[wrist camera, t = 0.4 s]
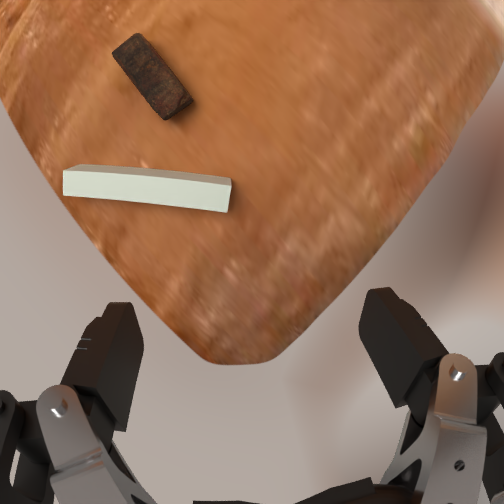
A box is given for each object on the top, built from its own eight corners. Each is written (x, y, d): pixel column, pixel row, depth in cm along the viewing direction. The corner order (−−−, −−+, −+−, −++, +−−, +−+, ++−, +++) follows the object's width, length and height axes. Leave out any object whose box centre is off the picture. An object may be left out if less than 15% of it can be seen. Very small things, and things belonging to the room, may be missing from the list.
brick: (122, 60, 26) (108, 53, 21) (148, 40, 25) (137, 30, 21) (168, 121, 30) (160, 121, 26) (195, 101, 29) (191, 98, 25)
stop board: (79, 164, 30) (63, 170, 26) (230, 177, 34) (231, 186, 30) (79, 186, 32) (63, 195, 28) (226, 201, 35) (227, 212, 31)
